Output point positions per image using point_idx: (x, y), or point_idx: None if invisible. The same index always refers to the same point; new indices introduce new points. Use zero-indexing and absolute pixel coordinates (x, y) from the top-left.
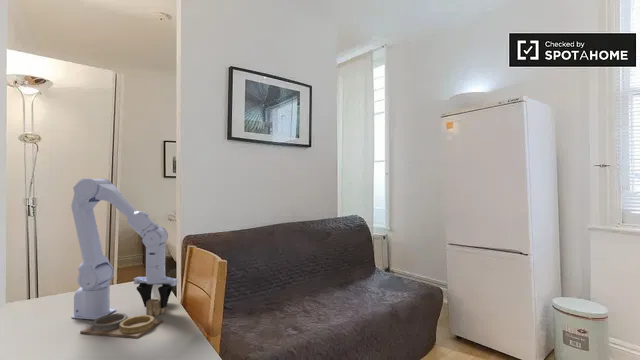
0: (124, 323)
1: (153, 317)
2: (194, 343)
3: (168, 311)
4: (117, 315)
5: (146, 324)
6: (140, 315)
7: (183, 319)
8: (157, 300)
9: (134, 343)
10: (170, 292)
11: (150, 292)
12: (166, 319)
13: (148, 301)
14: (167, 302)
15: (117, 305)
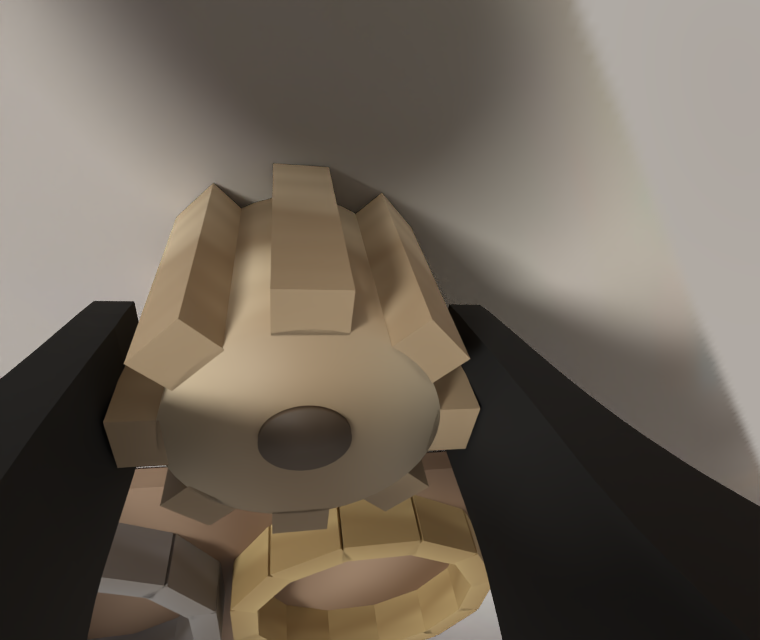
0: (259, 613)
1: (473, 555)
2: None
3: (468, 228)
4: None
5: (471, 609)
6: (311, 558)
7: (692, 387)
8: (353, 440)
9: None
10: (697, 494)
11: (6, 537)
12: None
13: (201, 495)
14: (514, 336)
15: None
